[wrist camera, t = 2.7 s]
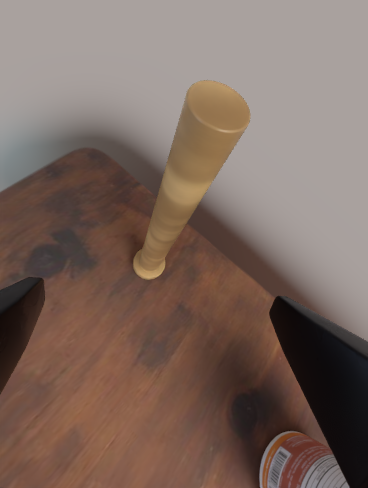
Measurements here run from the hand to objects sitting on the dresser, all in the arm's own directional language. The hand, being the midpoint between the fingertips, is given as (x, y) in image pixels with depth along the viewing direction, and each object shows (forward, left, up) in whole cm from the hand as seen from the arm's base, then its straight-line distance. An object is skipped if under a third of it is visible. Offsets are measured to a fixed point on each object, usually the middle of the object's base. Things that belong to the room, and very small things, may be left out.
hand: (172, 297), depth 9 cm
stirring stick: (+4, -2, -11) cm, 12 cm away
